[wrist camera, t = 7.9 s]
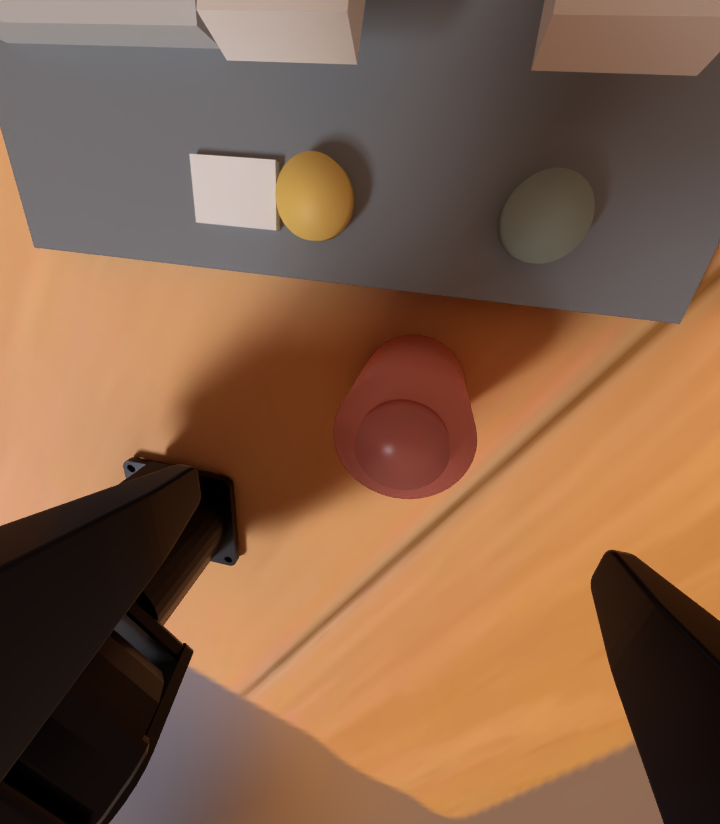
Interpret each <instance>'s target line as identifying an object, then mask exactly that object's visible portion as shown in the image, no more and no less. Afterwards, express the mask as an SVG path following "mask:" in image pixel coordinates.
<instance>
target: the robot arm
mask: <svg viewBox="0 0 720 824" xmlns="http://www.w3.org/2000/svg"><path fill="white" fill-rule="evenodd" d="M123 468H124V472H125V476H126V479H125V480H124V481H123V482H121V483H120V484H119V485H116V486H113V487H110V488H108V489H105V490H102V491H99V492H96V493H93V494H90V495H88V496H85V497H82V498H79V499H76V500H73V501H70V502H68V503H65V504H62V505H59V506H56V507H53V508H50V509H48V510H45V511H42V512H39V513H36V514H33V515H30V516H28V517H25V518H22V519H19V520H16V521H13V522H10V523H8V524H5V525H2V526H0V824H109V822H110V821H111V820H112V819H113V818H114V816H115V815H116V814H117V812H118V811H119V810H120V808H121V807H122V806H123V805H124V803H125V802H126V800H127V799H128V797H129V795H130V794H131V793H132V791H133V789H134V788H135V786H136V785H137V783H138V781H139V779H140V778H141V776H142V774H143V772H144V771H145V769H146V767H147V765H148V763H149V760H150V758H151V756H152V754H153V752H154V749H155V747H156V744H157V741H158V739H159V737H160V734H161V732H162V729H163V727H164V724H165V722H166V719H167V717H168V714H169V712H170V709H171V707H172V704H173V702H174V699H175V697H176V694H177V692H178V689H179V687H180V684H181V682H182V679H183V677H184V674H185V672H186V669H187V667H188V665H189V662H190V660H191V657H192V655H193V650H192V649H191V648H190V647H189V646H188V645H187V644H186V643H183V644H182V643H181V642H180V641H179V640H178V639H177V638H176V637H175V636H174V635H173V634H172V633H170V632H169V631H168V630H167V629H166V628H165V627H164V626H163V625H164V624H165V623H166V621H167V620H168V618H169V617H170V616H171V614H172V613H173V612H174V610H175V609H176V607H177V606H178V605H179V603H180V602H181V601H182V599H183V598H184V596H185V595H186V594H187V592H188V591H189V590H190V588H191V587H192V585H193V584H194V583H195V581H196V580H197V578H198V577H199V576H200V574H201V573H202V572H203V570H204V569H205V567H206V566H207V565H208V563H209V562H210V561H213V562H217V563H221V564H225V565H230V566H232V565H234V564H235V563H236V562H237V560H238V559H239V549H238V537H237V524H236V512H235V499H234V487H233V482H232V480H231V479H230V478H228V477H227V476H224V475H219V474H214V473H209V472H204V471H199V470H197V469H196V468H195V467H193V466H189V465H184V464H176V465H170V464H165V463H160V462H155V461H150V460H145V459H140V458H135V457H132V458H130V459H128V460H127V461H125V462H124V464H123ZM222 484H223V485H224V486H223V485H222ZM591 591H592V595H593V600H594V604H595V608H596V612H597V616H598V620H599V624H600V629H601V633H602V637H603V641H604V645H605V649H606V653H607V657H608V661H609V665H610V668H611V672H612V675H613V678H614V681H615V684H616V687H617V690H618V693H619V696H620V699H621V701H622V704H623V707H624V710H625V713H626V716H627V719H628V722H629V725H630V727H631V730H632V733H633V736H634V739H635V742H636V745H637V748H638V750H639V753H640V756H641V759H642V762H643V765H644V768H645V771H646V774H647V776H648V779H649V782H650V785H651V788H652V791H653V793H654V797H655V799H656V802H657V805H658V808H659V811H660V814H661V817H662V819H663V823H664V824H720V621H719V620H718V619H717V618H715V617H714V616H713V615H711V614H710V613H709V612H707V611H706V610H705V609H704V608H702V607H701V606H700V605H698V604H697V603H696V602H694V601H693V600H692V599H691V598H689V597H688V596H687V595H685V594H684V593H683V592H681V591H680V590H679V589H678V588H676V587H675V586H674V585H672V584H671V583H670V582H668V581H667V580H666V579H665V578H663V577H662V576H661V575H659V574H658V573H657V572H655V571H654V570H653V569H652V568H650V567H649V566H648V565H646V564H645V563H644V562H642V561H641V560H640V559H639V558H637V557H636V556H634V555H633V554H630V553H626V552H621V551H616V550H608V551H607V552H605V554H604V555H603V557H602V559H601V561H600V563H599V565H598V566H597V568H596V570H595V572H594V574H593V576H592V579H591Z"/></svg>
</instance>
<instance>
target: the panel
mask: <svg viewBox="0 0 720 824" xmlns="http://www.w3.org/2000/svg"><path fill="white" fill-rule="evenodd" d="M544 1H545V0H365V8H364V16H363V23H362V31H361V39H360V47H359V54H358V62H357V65H352V64H321V63H290V62H259V61H227V60H226V58H225V56H224V55H223V53H222V52H221V50H220V48H219V47H218V45H217V43H216V42H215V40H214V38H213V37H212V35H211V33H210V32H209V30H208V28H207V27H206V25H205V23H204V22H203V20H202V19H201V17H200V15H199V14H198V12H197V10H196V7H197V0H0V127H1V131H2V134H3V138H4V141H5V145H6V148H7V152H8V155H9V159H10V163H11V166H12V170H13V173H14V177H15V180H16V184H17V187H18V191H19V194H20V198H21V202H22V205H23V209H24V212H25V216H26V219H27V223H28V226H29V230H30V234H31V237H32V241H33V244H34V247H35V248H44V249H52V250H61V251H69V252H77V253H86V254H94V255H103V256H111V257H120V258H128V259H137V260H145V261H153V262H162V263H170V264H179V265H187V266H196V267H204V268H212V269H221V270H229V271H238V272H246V273H255V274H263V275H272V276H280V277H288V278H297V279H305V280H314V281H322V282H331V283H339V284H348V285H356V286H364V287H373V288H381V289H390V290H398V291H407V292H415V293H424V294H432V295H440V296H449V297H457V298H466V299H474V300H483V301H491V302H500V303H508V304H516V305H525V306H533V307H542V308H550V309H559V310H567V311H576V312H584V313H592V314H601V315H609V316H618V317H626V318H635V319H643V320H651V321H660V322H668V323H677V324H680V323H681V321H682V318H683V316H684V314H685V312H686V310H687V308H688V306H689V304H690V302H691V300H692V298H693V296H694V294H695V292H696V289H697V287H698V285H699V283H700V281H701V279H702V277H703V275H704V273H705V271H706V269H707V267H708V265H709V263H710V260H711V258H712V256H713V254H714V252H715V250H716V248H717V246H718V244H719V242H720V52H719V53H718V54H717V55H716V57H715V58H714V59H713V60H712V61H711V62H710V63H709V64H708V65H707V66H706V67H705V68H704V69H703V70H702V71H701V72H700V73H699V74H698V75H697V76H685V75H654V74H622V73H591V72H560V71H531V68H532V63H533V58H534V53H535V48H536V42H537V37H538V32H539V27H540V21H541V16H542V11H543V6H544Z"/></svg>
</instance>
